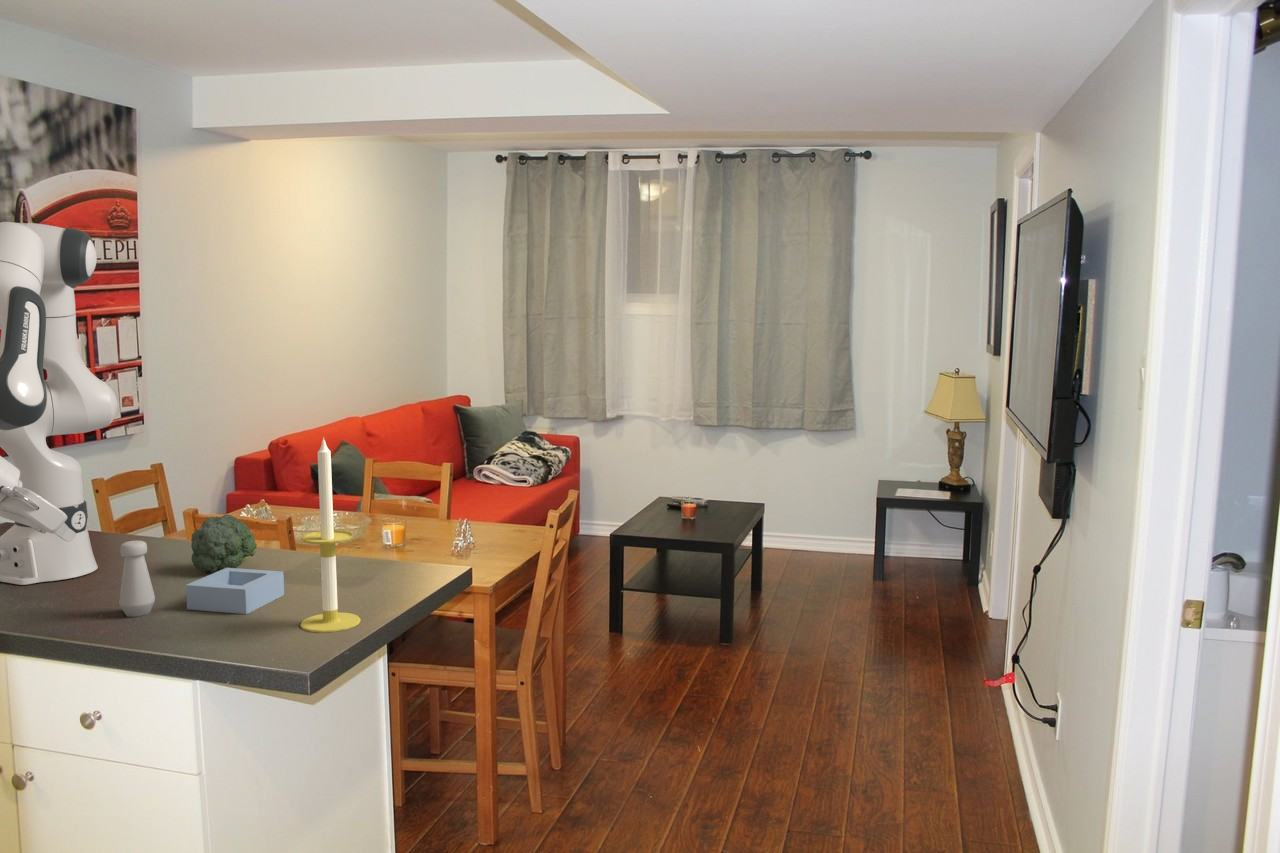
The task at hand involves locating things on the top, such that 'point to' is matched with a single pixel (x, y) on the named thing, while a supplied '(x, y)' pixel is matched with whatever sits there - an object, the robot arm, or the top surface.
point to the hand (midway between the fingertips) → (58, 533)
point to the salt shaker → (135, 580)
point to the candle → (327, 555)
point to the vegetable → (221, 544)
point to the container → (235, 590)
